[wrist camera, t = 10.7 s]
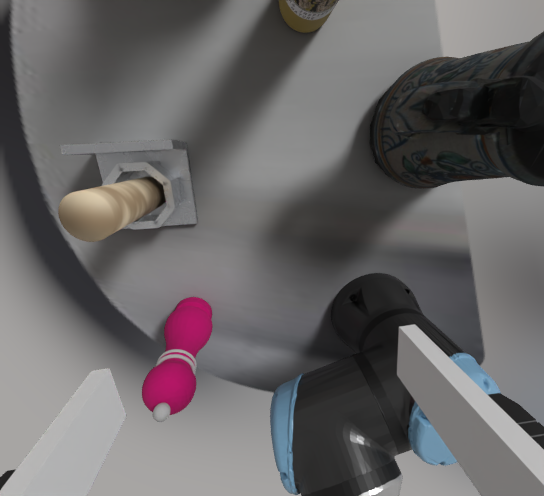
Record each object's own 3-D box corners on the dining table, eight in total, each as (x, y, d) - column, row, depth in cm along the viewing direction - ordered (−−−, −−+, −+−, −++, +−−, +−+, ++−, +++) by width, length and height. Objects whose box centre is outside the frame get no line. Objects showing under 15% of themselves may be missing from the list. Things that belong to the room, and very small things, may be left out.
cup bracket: (198, 222, 41) (187, 237, 34) (118, 227, 41) (89, 244, 33) (186, 142, 38) (171, 139, 30) (97, 146, 37) (59, 145, 29)
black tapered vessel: (482, 155, 42) (779, 157, 19) (369, 212, 44) (513, 281, 20) (459, 41, 37) (842, -161, 13) (330, 111, 38) (469, 42, 14)
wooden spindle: (169, 207, 39) (119, 240, 24) (137, 209, 39) (67, 243, 24) (163, 175, 38) (106, 189, 23) (131, 177, 37) (51, 192, 22)
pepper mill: (202, 287, 45) (171, 382, 26) (222, 319, 48) (207, 428, 29) (164, 304, 46) (107, 410, 27) (186, 336, 48) (148, 453, 29)
